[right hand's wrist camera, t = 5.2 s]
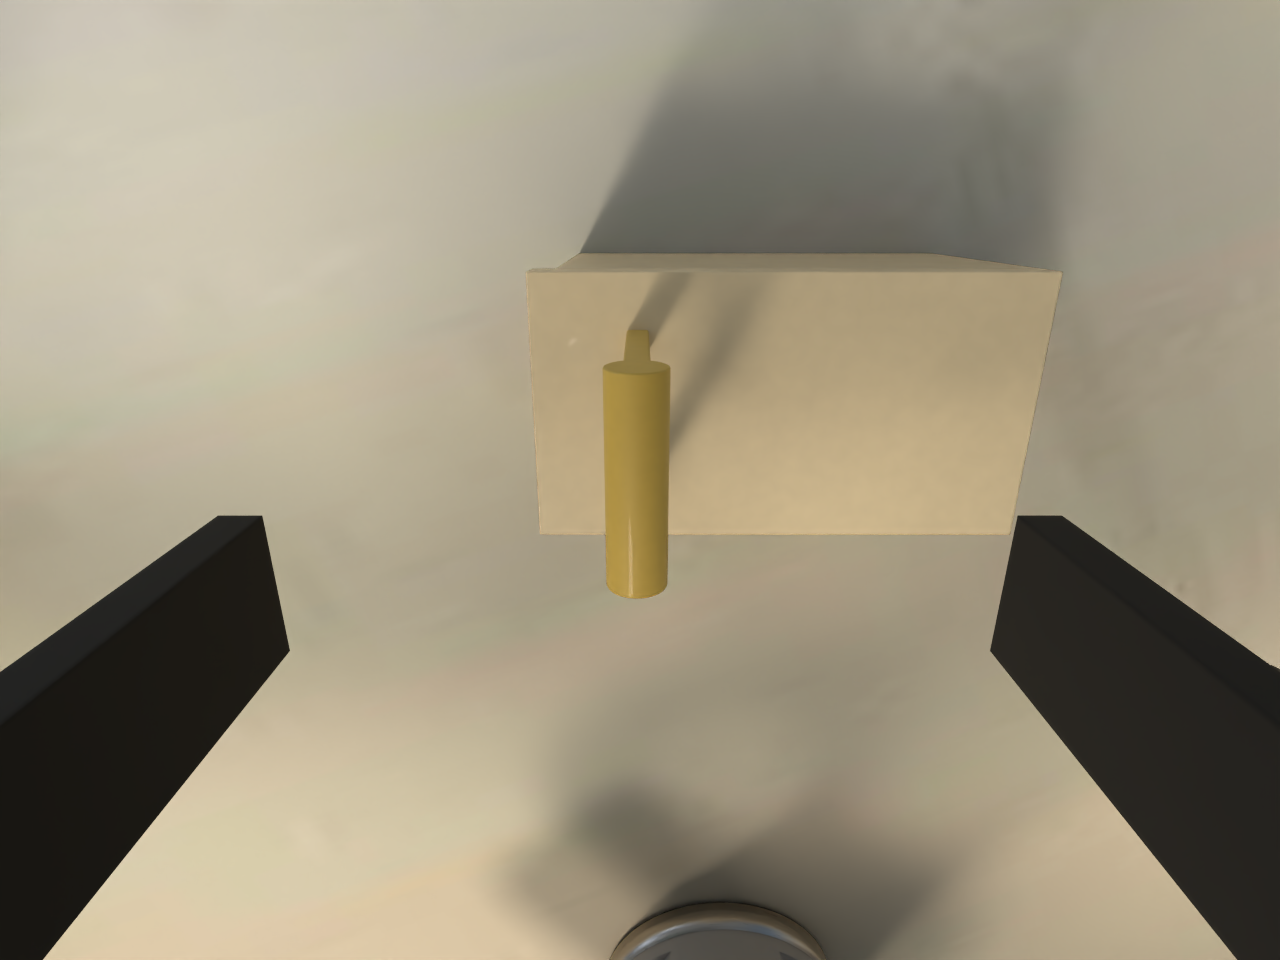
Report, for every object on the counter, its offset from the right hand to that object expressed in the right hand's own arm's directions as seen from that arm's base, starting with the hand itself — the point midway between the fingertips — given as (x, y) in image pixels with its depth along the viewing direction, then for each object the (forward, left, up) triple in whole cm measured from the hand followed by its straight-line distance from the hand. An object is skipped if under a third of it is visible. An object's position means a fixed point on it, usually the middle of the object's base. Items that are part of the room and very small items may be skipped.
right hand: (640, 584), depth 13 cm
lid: (+2, -4, -13) cm, 14 cm away
